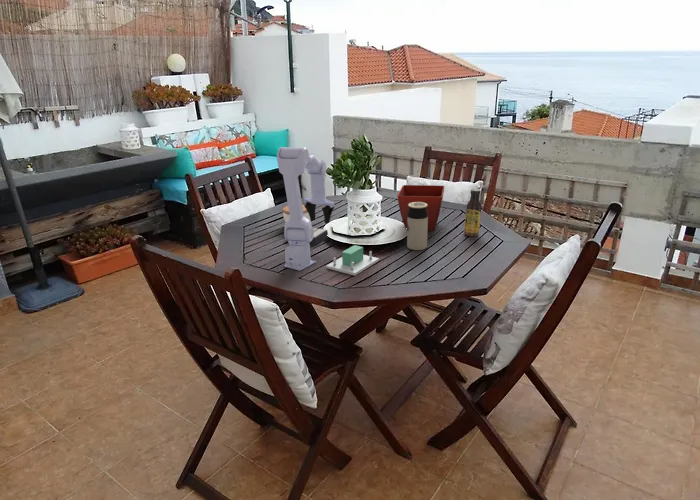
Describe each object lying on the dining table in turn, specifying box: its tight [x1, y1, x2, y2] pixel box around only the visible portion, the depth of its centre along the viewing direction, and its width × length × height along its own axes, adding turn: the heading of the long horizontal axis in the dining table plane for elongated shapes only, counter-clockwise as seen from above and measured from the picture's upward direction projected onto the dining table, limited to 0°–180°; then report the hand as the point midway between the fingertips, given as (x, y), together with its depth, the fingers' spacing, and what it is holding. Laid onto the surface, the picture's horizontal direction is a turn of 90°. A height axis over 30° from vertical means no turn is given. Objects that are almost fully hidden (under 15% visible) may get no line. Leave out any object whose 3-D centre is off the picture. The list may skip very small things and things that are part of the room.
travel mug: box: [406, 202, 428, 251], centre depth 193 cm, size 8×8×18 cm
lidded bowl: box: [282, 203, 311, 223], centre depth 224 cm, size 13×13×11 cm
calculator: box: [285, 227, 329, 247], centre depth 209 cm, size 11×4×15 cm
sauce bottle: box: [463, 188, 482, 237], centre depth 204 cm, size 7×6×20 cm
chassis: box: [325, 250, 380, 276], centre depth 181 cm, size 16×13×4 cm
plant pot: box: [397, 184, 445, 232], centre depth 217 cm, size 19×19×17 cm
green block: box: [341, 244, 364, 266], centre depth 181 cm, size 8×4×5 cm, turn 145°
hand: (320, 221), depth 201 cm, fingers open, 7 cm apart
